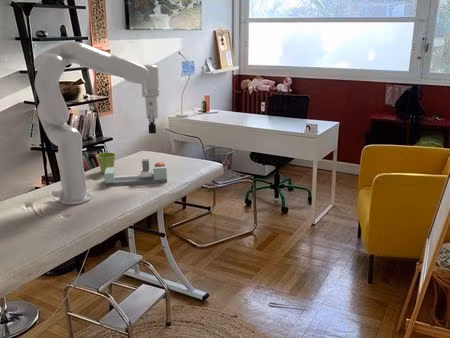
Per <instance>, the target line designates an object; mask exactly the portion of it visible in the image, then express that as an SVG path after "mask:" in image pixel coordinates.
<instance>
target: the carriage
mask: <svg viewBox="0 0 450 338" xmlns="http://www.w3.org/2000/svg"><path fill="white" fill-rule="evenodd" d="M141 164H142V165H141V166H142V168H140V175H141V177H147V176H152V174H153V173H152V172H153V170H152V169H153V167H151V168H150V159H148V158H147V159H142V160H141Z"/></svg>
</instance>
